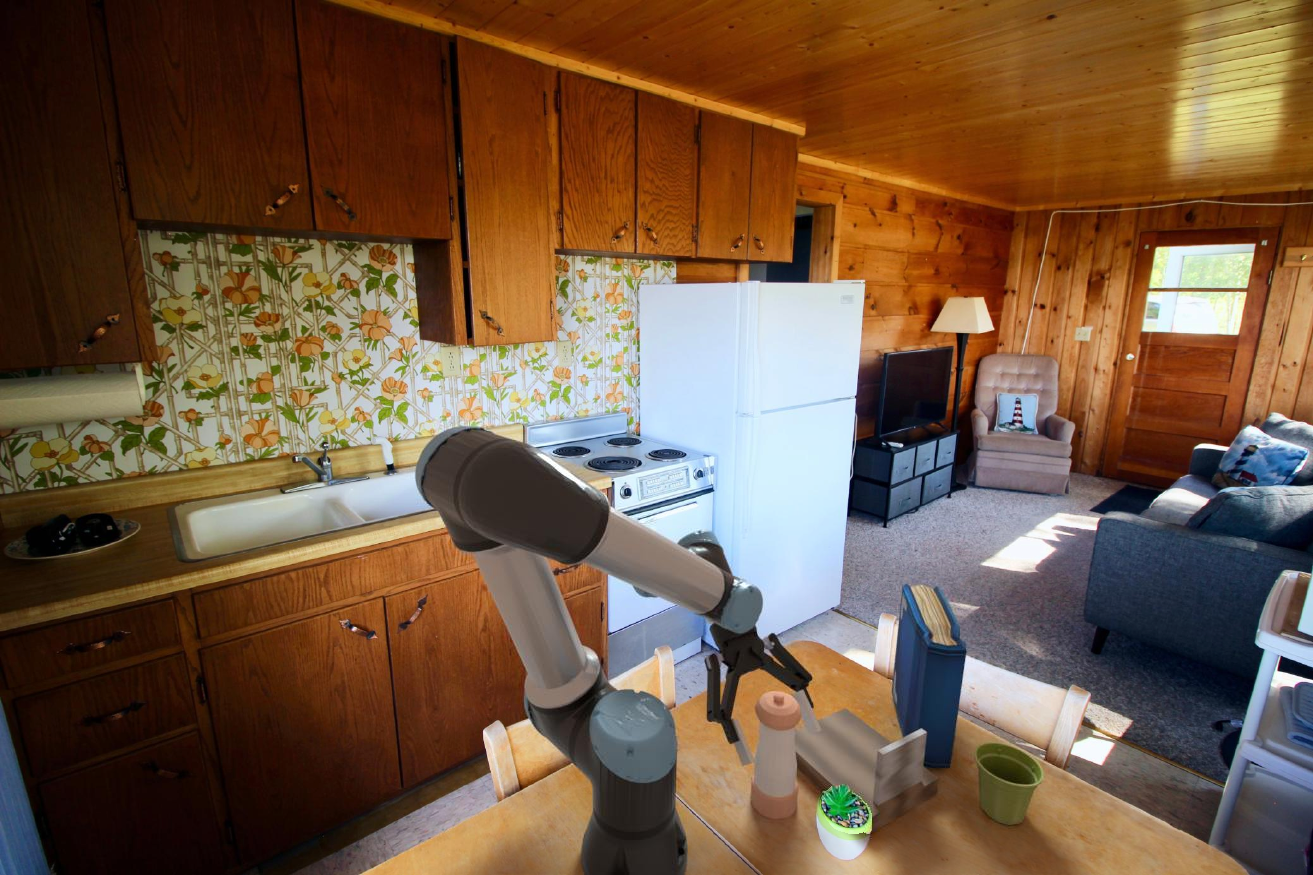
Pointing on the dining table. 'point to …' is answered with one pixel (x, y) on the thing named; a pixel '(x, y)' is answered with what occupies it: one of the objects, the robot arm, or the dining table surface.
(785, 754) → the pepper shaker
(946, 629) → the book
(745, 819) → the dining table surface
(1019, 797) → the plant pot
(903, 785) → the grey brown wooden stand
